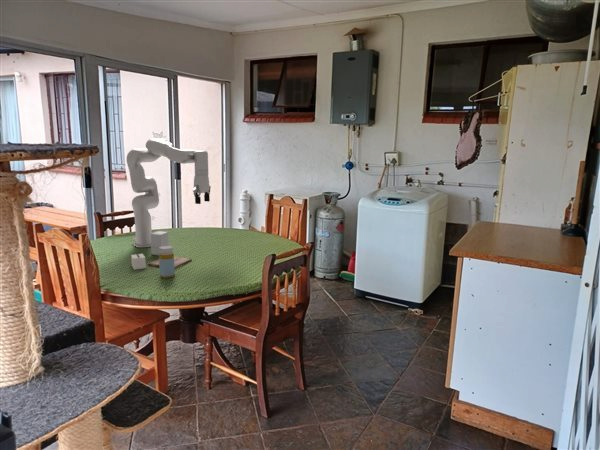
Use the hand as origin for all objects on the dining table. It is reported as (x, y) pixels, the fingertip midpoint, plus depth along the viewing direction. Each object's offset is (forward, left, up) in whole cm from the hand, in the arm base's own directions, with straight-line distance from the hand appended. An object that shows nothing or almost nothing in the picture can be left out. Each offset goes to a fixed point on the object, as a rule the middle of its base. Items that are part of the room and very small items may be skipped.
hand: (202, 202), depth 240 cm
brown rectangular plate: (-7, -23, -31) cm, 39 cm away
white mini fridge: (-18, -35, -31) cm, 50 cm away
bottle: (+5, -41, -31) cm, 51 cm away
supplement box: (-24, -10, -31) cm, 40 cm away
